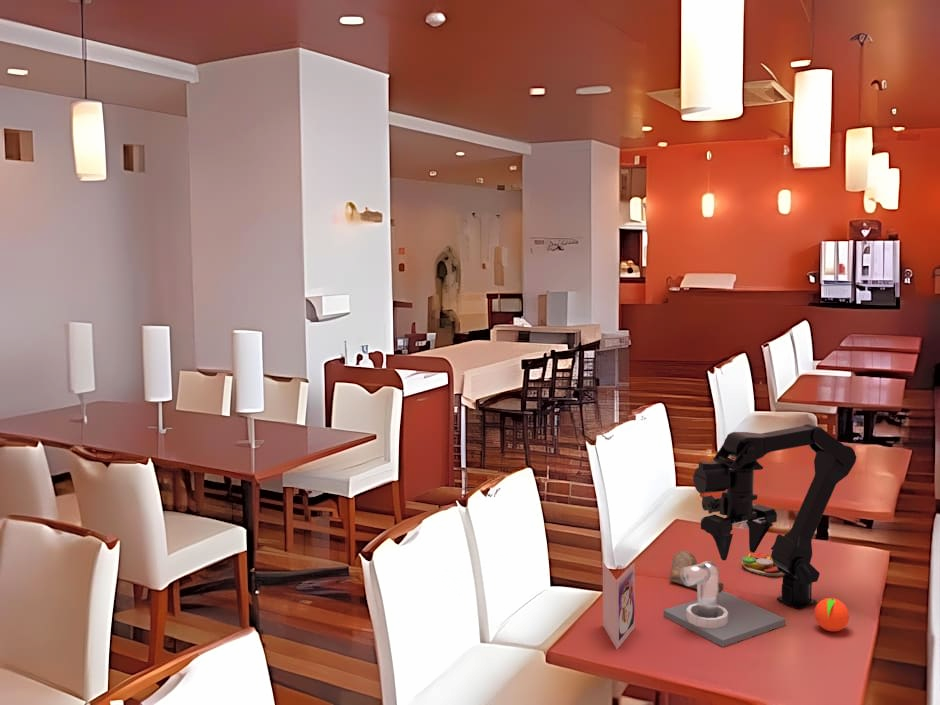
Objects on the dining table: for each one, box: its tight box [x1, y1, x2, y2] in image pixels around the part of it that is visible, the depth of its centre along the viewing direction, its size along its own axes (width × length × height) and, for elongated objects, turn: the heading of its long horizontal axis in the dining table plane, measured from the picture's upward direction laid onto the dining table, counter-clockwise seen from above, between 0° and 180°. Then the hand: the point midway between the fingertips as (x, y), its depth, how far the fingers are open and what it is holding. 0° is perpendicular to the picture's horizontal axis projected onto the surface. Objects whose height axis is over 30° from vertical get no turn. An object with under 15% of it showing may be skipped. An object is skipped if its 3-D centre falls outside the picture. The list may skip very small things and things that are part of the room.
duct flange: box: [663, 591, 786, 648], centre depth 193 cm, size 19×18×4 cm
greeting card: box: [602, 561, 636, 650], centre depth 187 cm, size 11×7×15 cm, turn 151°
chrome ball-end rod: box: [680, 560, 720, 618], centre depth 189 cm, size 8×4×13 cm, turn 116°
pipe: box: [669, 550, 724, 593], centre depth 215 cm, size 6×17×10 cm
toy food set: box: [741, 551, 784, 577], centre depth 223 cm, size 13×13×3 cm
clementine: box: [814, 597, 850, 632], centre depth 187 cm, size 8×7×7 cm
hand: (738, 556), depth 197 cm, fingers open, 9 cm apart
